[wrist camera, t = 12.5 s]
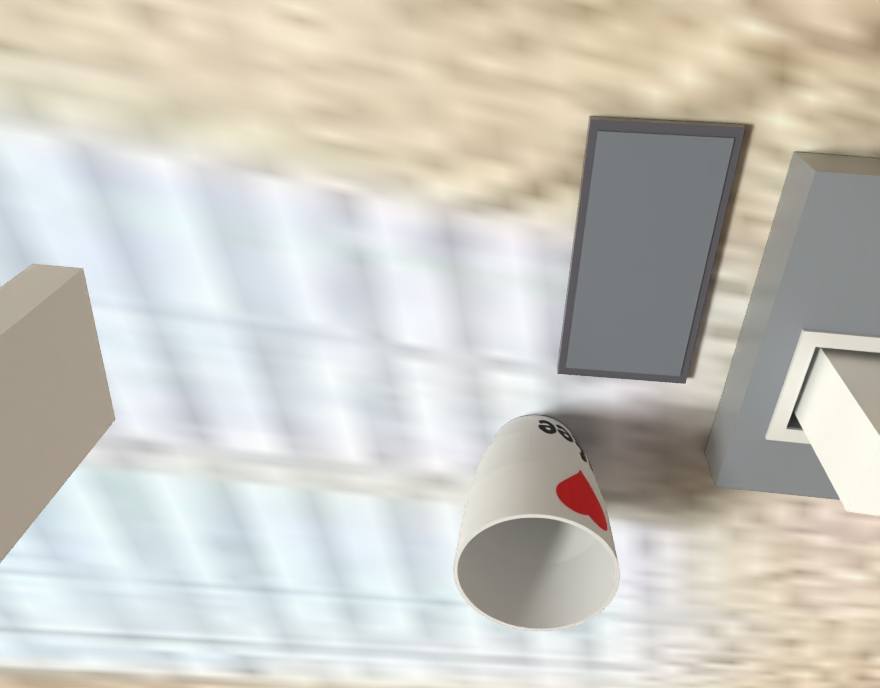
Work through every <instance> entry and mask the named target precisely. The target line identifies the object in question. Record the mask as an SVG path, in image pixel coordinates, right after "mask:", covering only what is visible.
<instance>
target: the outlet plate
mask: <svg viewBox="0 0 880 688" xmlns="http://www.w3.org/2000/svg"><path fill="white" fill-rule="evenodd" d="M815 347H822V348H833V349H844V350H855V351H866V352H877V353H880V158H870V157H857V156H844V155H830V154H817V153H804V152H794V153H793V157H792V160H791V164H790V167H789V170H788V174H787V177H786V180H785V184H784V187H783V191H782V194H781V197H780V201H779V204H778V207H777V211H776V214H775V217H774V221H773V224H772V228H771V231H770V234H769V238H768V241H767V244H766V248H765V251H764V255H763V258H762V261H761V265H760V268H759V271H758V275H757V278H756V282H755V285H754V288H753V292H752V295H751V298H750V302H749V305H748V309H747V312H746V315H745V319H744V322H743V325H742V329H741V332H740V336H739V339H738V342H737V346H736V349H735V352H734V356H733V359H732V363H731V366H730V369H729V373H728V376H727V379H726V383H725V386H724V390H723V393H722V396H721V400H720V403H719V406H718V410H717V413H716V416H715V420H714V423H713V427H712V430H711V433H710V437H709V440H708V443H707V447H706V450H705V456H706V459H707V462H708V465H709V468H710V471H711V474H712V477H713V480H714V483H715V486H716V487H721V488H731V489H740V490H750V491H760V492H769V493H779V494H789V495H798V496H808V497H818V498H827V499H837V500H840V498H839V496H838V494H837V492H836V491H835V489H834V487H833V485H832V483H831V481H830V479H829V477H828V476H827V474H826V472H825V470H824V468H823V466H822V464H821V462H820V460H819V459H818V457H817V455H816V453H815V451H814V449H813V447H812V445H811V444H810V442H809V440H808V438H807V436H806V434H805V432H804V430H803V428H802V427H801V425H800V423H799V421H798V419H797V417H796V415H795V413H794V412H793V408H794V406H795V403H796V400H797V397H798V394H799V392H800V389H801V386H802V383H803V381H804V378H805V375H806V372H807V369H808V367H809V364H810V361H811V358H812V356H813V353H814V350H815Z"/></svg>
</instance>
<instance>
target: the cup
mask: <svg viewBox="0 0 880 688" xmlns="http://www.w3.org/2000/svg"><path fill="white" fill-rule="evenodd" d="M453 573H454V579H455V583H456V586H457V588H458V590H459V592H460V594H461V595H462V597H463V598H464V599H465V601H466V602H467V603H468V604H469V605H470V606H471V607H472V608H473V609H475V610H476V611H477V612H479V613H480V614H482V615H483V616H485V617H486V618H488V619H490V620H492V621H494V622H497V623H499V624H502V625H505V626H508V627H512V628H516V629H521V630H529V631H552V630H560V629H565V628H569V627H572V626H576V625H578V624H581V623H583V622H585V621H588V620H589V619H591V618H593V617H595V616H596V615H597V614H599V613H600V612H601V611H603V610H604V609H605V608H606V607H607V606H608V604H609V603H610V602H611V601H612V599H613V598H614V596H615V594H616V592H617V589H618V586H619V581H620V570H619V564H618V560H617V555H616V551H615V546H614V541H613V537H612V532H611V527H610V523H609V518H608V513H607V509H606V505H605V502H604V499H603V497H602V494H601V491H600V489H599V486H598V483H597V481H596V478H595V475H594V473H593V470H592V467H591V465H590V462H589V460H588V458H587V456H586V455H585V453H584V452H583V450H582V448H581V447H580V445H579V444H578V442H577V441H576V439H575V438H574V436H573V435H572V433H571V432H570V430H569V429H568V428H567V427H566V426H565V425H563V424H562V423H560V422H559V421H557V420H555V419H552V418H550V417H546V416H540V415H527V416H522V417H518V418H515V419H513V420H511V421H509V422H508V423H506V424H505V425H504V426H502V427H501V428H500V430H499V431H498V432H497V434H496V435H495V437H494V439H493V440H492V442H491V443H490V445H489V447H488V448H487V450H486V451H485V453H484V455H483V456H482V458H481V460H480V463H479V466H478V469H477V472H476V475H475V477H474V480H473V483H472V486H471V489H470V492H469V494H468V497H467V500H466V503H465V508H464V513H463V519H462V524H461V529H460V534H459V539H458V544H457V550H456V555H455V560H454V567H453Z"/></svg>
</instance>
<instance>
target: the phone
mask: <svg viewBox="0 0 880 688" xmlns="http://www.w3.org/2000/svg"><path fill="white" fill-rule="evenodd" d="M744 131H745V126H744V125H742V124H735V123H716V122H697V121H677V120H658V119H638V118H619V117H599V116H589V123H588V131H587V139H586V147H585V155H584V162H583V170H582V178H581V186H580V194H579V202H578V209H577V217H576V225H575V233H574V241H573V248H572V256H571V264H570V272H569V280H568V288H567V295H566V303H565V311H564V319H563V327H562V335H561V342H560V350H559V358H558V366H557V371H558V374H568V375H581V376H594V377H607V378H620V379H633V380H646V381H659V382H672V383H686V379H687V374H688V370H689V366H690V362H691V357H692V353H693V349H694V344H695V340H696V336H697V332H698V327H699V323H700V319H701V315H702V310H703V306H704V302H705V297H706V293H707V289H708V285H709V280H710V276H711V272H712V268H713V263H714V259H715V255H716V250H717V246H718V242H719V238H720V233H721V229H722V225H723V221H724V216H725V212H726V208H727V203H728V199H729V195H730V191H731V186H732V182H733V178H734V174H735V169H736V165H737V161H738V156H739V152H740V148H741V144H742V139H743V135H744Z"/></svg>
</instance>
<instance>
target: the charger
mask: <svg viewBox="0 0 880 688" xmlns="http://www.w3.org/2000/svg"><path fill="white" fill-rule="evenodd" d="M793 412H794V413H795V415H796V417H797V419H798V421H799V423H800V425H801V427H802V428H803V430H804V432H805V434H806V436H807V438H808V440H809V442H810V444H811V445H812V447H813V449H814V451H815V453H816V455H817V457H818V459H819V460H820V462H821V464H822V466H823V468H824V470H825V472H826V474H827V476H828V477H829V479H830V481H831V483H832V485H833V487H834V489H835V491H836V492H837V494H838V496H839V498H840V500H841V502H842V504H843V506H844V508H845V509H846V511H848V512H856V513H864V514H871V515H879V516H880V353H877V352H866V351H855V350H844V349H833V348H822V347H815V350H814V353H813V356H812V358H811V361H810V364H809V367H808V369H807V372H806V375H805V378H804V381H803V383H802V386H801V389H800V392H799V394H798V397H797V400H796V403H795V406H794V408H793Z"/></svg>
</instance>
